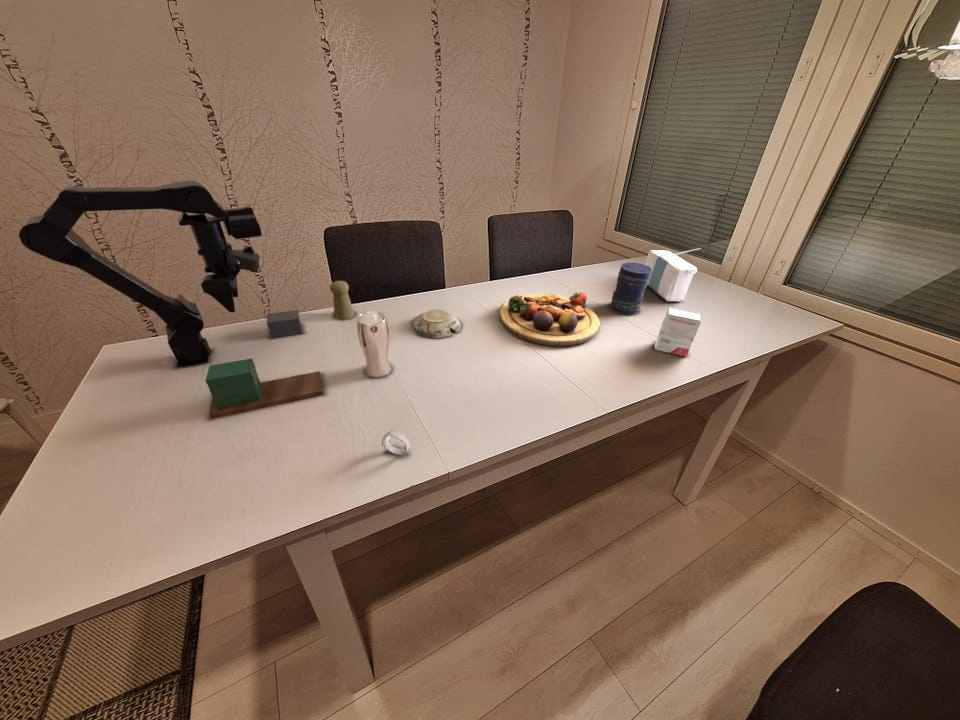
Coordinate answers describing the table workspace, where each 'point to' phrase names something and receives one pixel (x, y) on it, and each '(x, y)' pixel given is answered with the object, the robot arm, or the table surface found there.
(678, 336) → the ink box
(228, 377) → the green rectangular block
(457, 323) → the decorative bowl
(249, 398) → the green book
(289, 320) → the grey book
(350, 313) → the olive green pawn
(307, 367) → the table surface
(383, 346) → the beer glass
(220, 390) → the green book
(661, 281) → the radio
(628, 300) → the storage jar
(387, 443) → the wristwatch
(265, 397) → the shelf board
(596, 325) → the wooden plate
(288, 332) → the grey book
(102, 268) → the robot arm
